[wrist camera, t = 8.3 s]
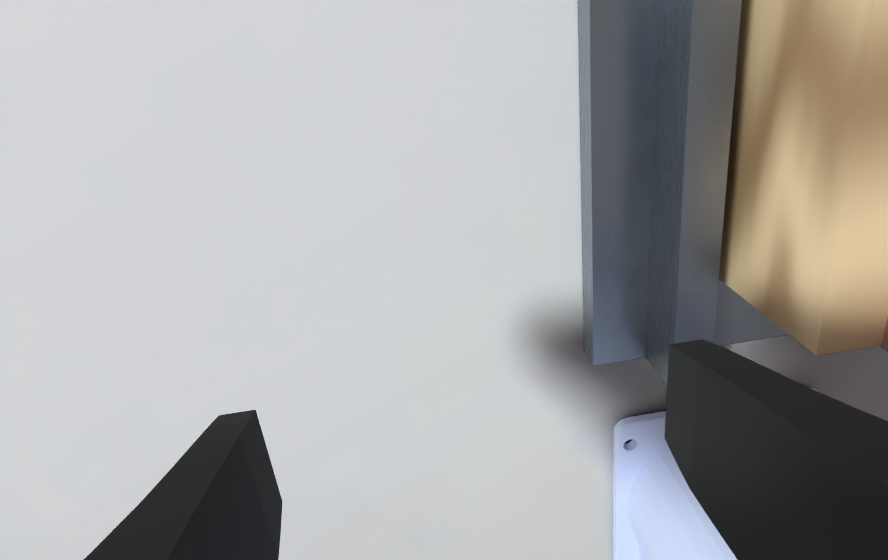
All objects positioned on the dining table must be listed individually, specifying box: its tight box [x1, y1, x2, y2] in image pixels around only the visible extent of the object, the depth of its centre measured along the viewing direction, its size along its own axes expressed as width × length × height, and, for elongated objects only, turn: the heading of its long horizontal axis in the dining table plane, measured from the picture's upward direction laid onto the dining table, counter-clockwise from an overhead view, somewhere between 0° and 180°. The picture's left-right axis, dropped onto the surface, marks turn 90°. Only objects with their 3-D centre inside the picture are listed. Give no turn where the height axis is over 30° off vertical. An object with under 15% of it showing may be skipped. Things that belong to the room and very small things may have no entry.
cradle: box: [578, 0, 888, 384], centre depth 17 cm, size 18×12×3 cm, turn 6°
